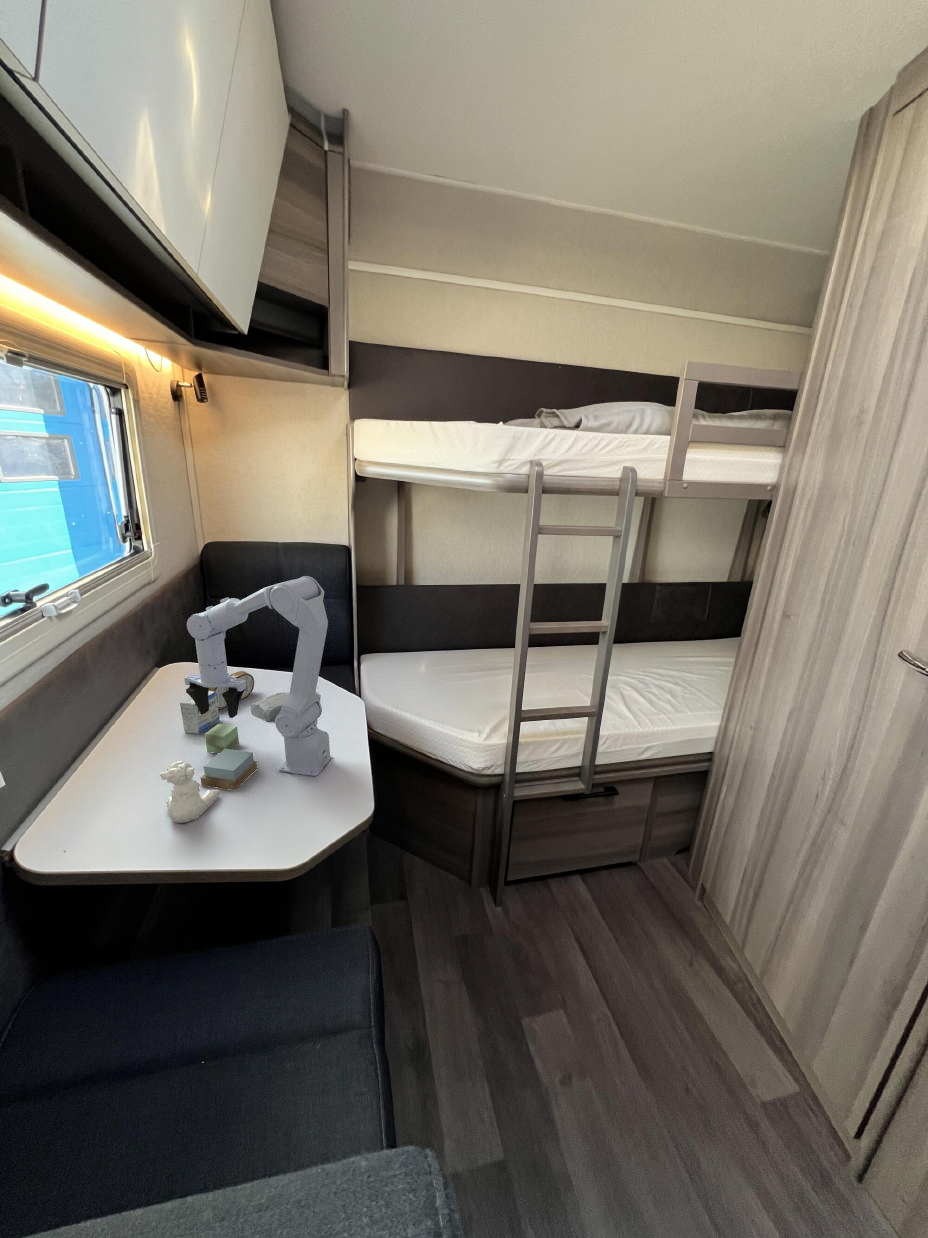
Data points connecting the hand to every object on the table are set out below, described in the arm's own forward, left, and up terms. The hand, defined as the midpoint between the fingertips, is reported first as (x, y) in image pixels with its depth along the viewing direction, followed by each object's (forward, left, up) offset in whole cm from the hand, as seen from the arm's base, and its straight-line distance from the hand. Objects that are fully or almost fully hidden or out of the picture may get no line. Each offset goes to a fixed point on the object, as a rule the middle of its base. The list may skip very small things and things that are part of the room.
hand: (219, 714), depth 111 cm
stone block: (-1, -21, -10) cm, 23 cm away
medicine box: (+12, -8, -9) cm, 17 cm away
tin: (+13, -22, -9) cm, 27 cm away
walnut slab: (-9, +10, -10) cm, 17 cm away
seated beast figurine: (-9, +22, -9) cm, 25 cm away
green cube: (0, 0, -9) cm, 9 cm away
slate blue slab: (-9, +10, -7) cm, 15 cm away
